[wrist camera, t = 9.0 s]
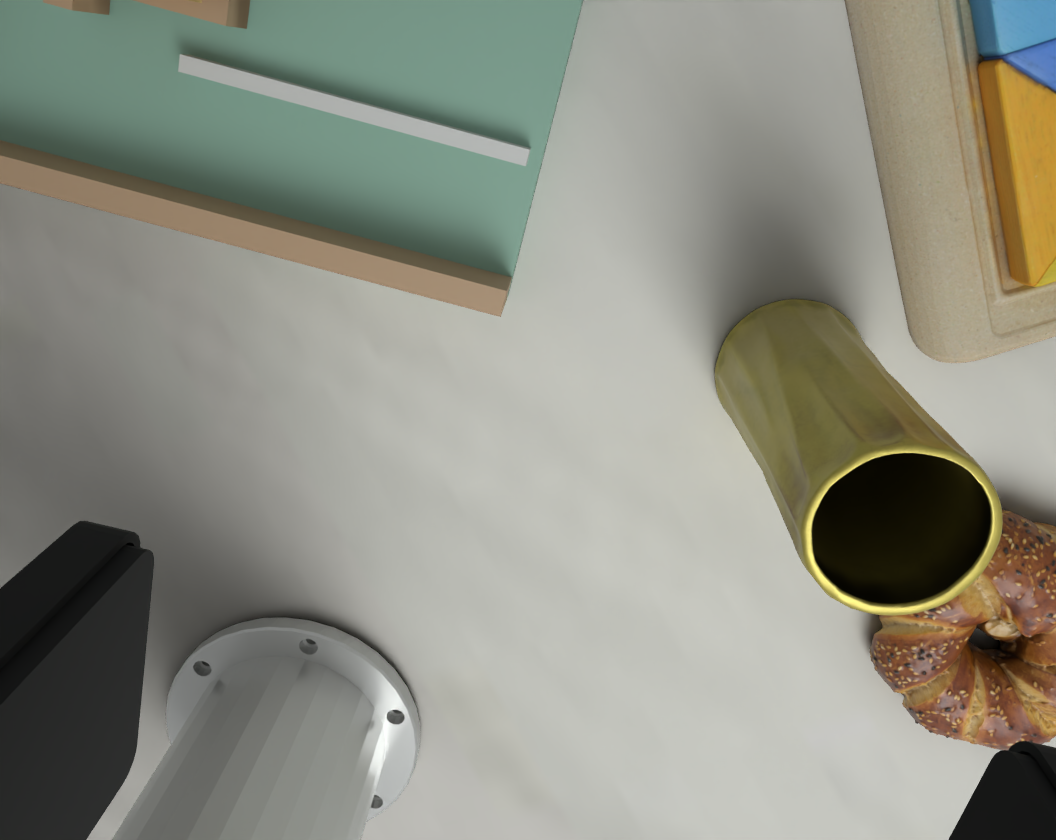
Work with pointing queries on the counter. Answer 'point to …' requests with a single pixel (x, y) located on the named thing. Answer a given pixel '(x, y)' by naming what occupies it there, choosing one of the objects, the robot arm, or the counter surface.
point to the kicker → (175, 9)
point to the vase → (855, 463)
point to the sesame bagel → (983, 675)
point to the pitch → (299, 128)
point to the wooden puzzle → (965, 165)
